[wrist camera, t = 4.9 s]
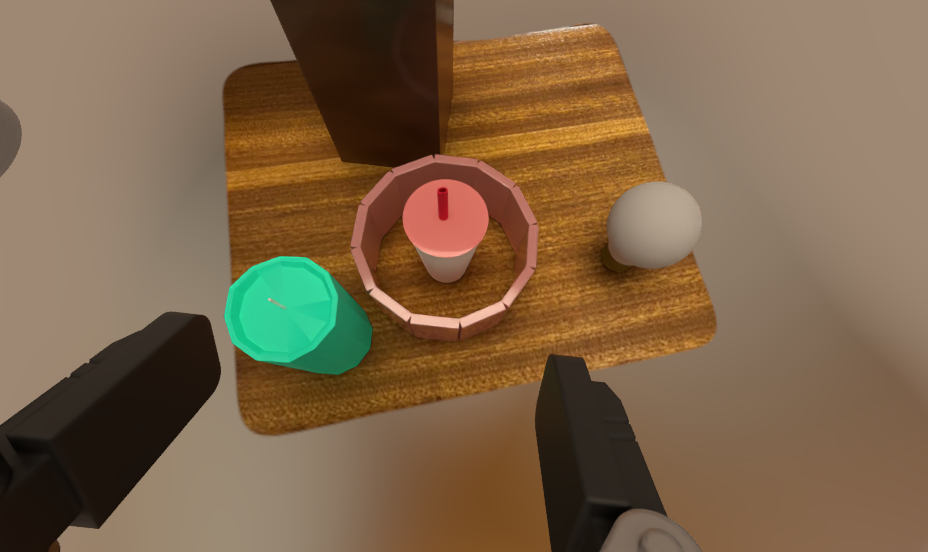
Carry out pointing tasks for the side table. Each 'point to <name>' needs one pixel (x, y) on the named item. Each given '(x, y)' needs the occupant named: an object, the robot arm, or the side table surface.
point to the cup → (445, 226)
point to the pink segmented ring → (388, 207)
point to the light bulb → (651, 227)
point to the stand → (376, 73)
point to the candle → (297, 317)
